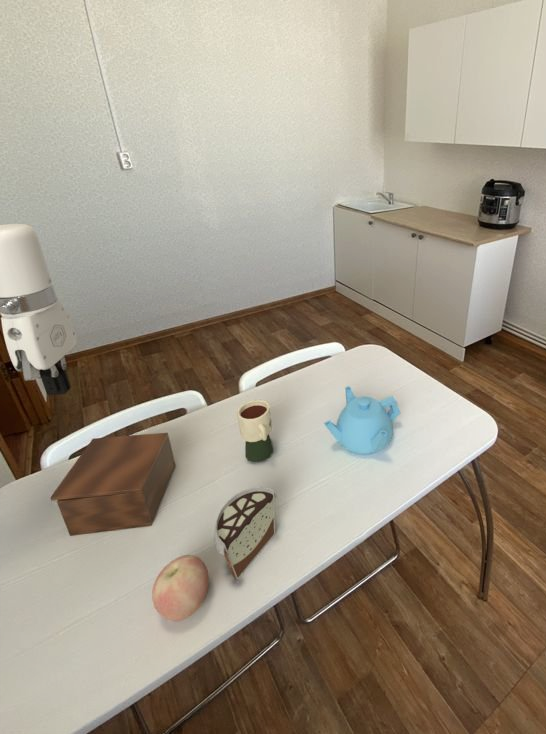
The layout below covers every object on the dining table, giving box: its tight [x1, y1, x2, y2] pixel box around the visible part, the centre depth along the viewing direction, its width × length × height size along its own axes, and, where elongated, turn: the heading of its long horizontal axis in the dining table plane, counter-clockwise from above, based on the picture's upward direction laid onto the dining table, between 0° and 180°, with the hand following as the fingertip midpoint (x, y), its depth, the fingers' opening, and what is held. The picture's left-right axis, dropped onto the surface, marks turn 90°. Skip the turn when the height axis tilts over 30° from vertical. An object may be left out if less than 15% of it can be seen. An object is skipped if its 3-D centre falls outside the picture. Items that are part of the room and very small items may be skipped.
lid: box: [49, 432, 169, 501], centre depth 76 cm, size 15×15×1 cm
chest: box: [56, 434, 176, 537], centre depth 78 cm, size 15×15×9 cm
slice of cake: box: [213, 486, 278, 581], centre depth 68 cm, size 12×6×10 cm, turn 149°
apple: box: [151, 554, 210, 622], centre depth 60 cm, size 8×8×8 cm
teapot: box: [323, 385, 401, 456], centre depth 93 cm, size 15×15×11 cm
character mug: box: [236, 399, 274, 463], centre depth 88 cm, size 11×7×13 cm, turn 37°
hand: (59, 391), depth 70 cm, fingers closed
